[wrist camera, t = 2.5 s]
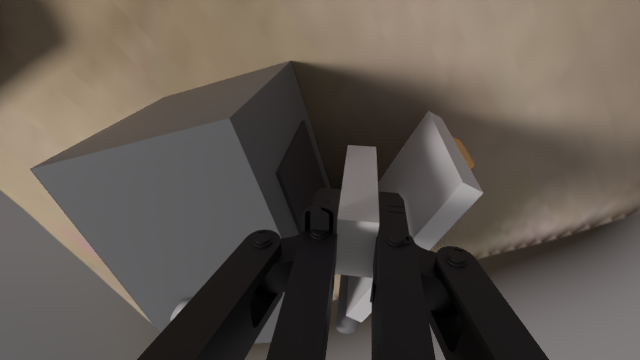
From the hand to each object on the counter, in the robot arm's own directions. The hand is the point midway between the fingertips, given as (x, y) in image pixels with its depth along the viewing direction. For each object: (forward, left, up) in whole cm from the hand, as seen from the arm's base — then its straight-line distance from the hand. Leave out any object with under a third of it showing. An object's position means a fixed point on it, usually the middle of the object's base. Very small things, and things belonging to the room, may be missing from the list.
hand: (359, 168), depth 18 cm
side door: (+4, +1, -5) cm, 7 cm away
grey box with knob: (+1, -8, -6) cm, 11 cm away
